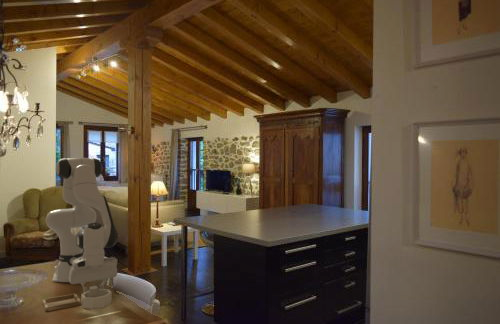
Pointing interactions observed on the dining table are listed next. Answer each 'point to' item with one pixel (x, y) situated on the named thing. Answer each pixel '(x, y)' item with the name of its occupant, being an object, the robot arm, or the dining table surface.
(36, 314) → the dining table surface
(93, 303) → the bowl
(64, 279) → the robot arm
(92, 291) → the block
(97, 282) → the flower pot
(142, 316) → the dining table surface
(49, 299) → the tray
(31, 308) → the dining table surface
